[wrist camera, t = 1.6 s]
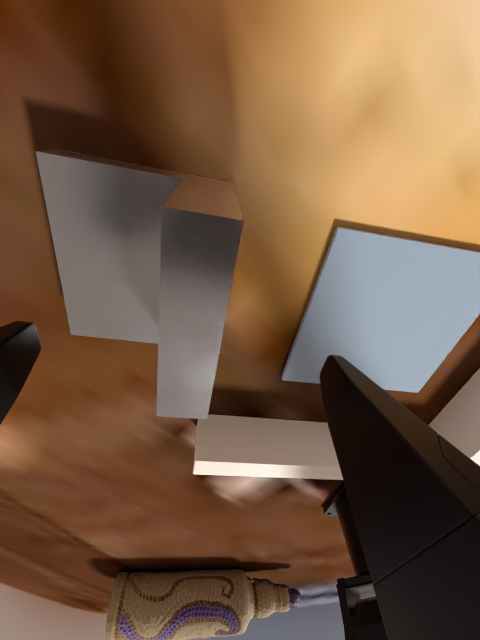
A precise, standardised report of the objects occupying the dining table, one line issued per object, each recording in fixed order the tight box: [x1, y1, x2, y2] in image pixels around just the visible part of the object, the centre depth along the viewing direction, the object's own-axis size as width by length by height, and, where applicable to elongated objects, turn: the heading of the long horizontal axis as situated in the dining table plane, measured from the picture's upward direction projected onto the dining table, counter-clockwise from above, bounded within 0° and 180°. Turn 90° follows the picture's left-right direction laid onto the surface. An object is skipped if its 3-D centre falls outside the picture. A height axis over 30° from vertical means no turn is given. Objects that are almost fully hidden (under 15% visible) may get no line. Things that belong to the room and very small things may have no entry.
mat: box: [281, 226, 480, 393], centre depth 16 cm, size 10×10×1 cm
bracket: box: [36, 149, 243, 419], centre depth 11 cm, size 8×7×6 cm
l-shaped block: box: [193, 368, 480, 480], centre depth 16 cm, size 20×20×4 cm
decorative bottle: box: [106, 569, 301, 640], centre depth 38 cm, size 26×8×7 cm, turn 81°
